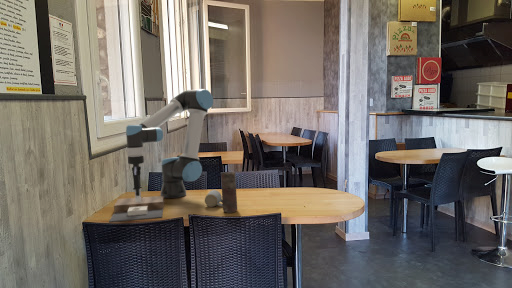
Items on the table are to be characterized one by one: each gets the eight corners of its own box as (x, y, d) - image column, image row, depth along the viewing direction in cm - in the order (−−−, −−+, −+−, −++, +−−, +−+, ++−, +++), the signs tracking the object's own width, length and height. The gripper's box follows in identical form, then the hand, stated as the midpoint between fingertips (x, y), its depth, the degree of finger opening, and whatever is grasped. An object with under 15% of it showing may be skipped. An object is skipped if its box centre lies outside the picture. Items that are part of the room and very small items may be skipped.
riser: (164, 202, 202) (163, 195, 202) (163, 209, 188) (162, 201, 188) (118, 206, 197) (118, 199, 196) (114, 213, 183) (113, 205, 183)
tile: (148, 209, 187) (147, 205, 186) (146, 214, 179) (146, 209, 179) (129, 211, 185) (129, 207, 184) (127, 215, 177) (127, 211, 177)
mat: (163, 209, 187) (163, 208, 187) (162, 217, 174) (162, 216, 174) (114, 213, 182) (114, 212, 182) (109, 222, 169) (109, 221, 169)
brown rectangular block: (219, 211, 182) (218, 172, 180) (230, 208, 187) (229, 170, 185) (229, 214, 176) (227, 173, 174) (240, 211, 181) (239, 171, 180)
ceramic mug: (204, 207, 190) (203, 193, 189) (208, 203, 198) (208, 189, 197) (223, 208, 188) (223, 193, 187) (227, 204, 196) (227, 190, 195)
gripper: (129, 154, 187) (132, 199, 190) (126, 157, 175) (129, 205, 177) (144, 153, 189) (147, 197, 191) (142, 156, 176) (144, 204, 179)
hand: (138, 201), depth 184 cm, fingers closed
